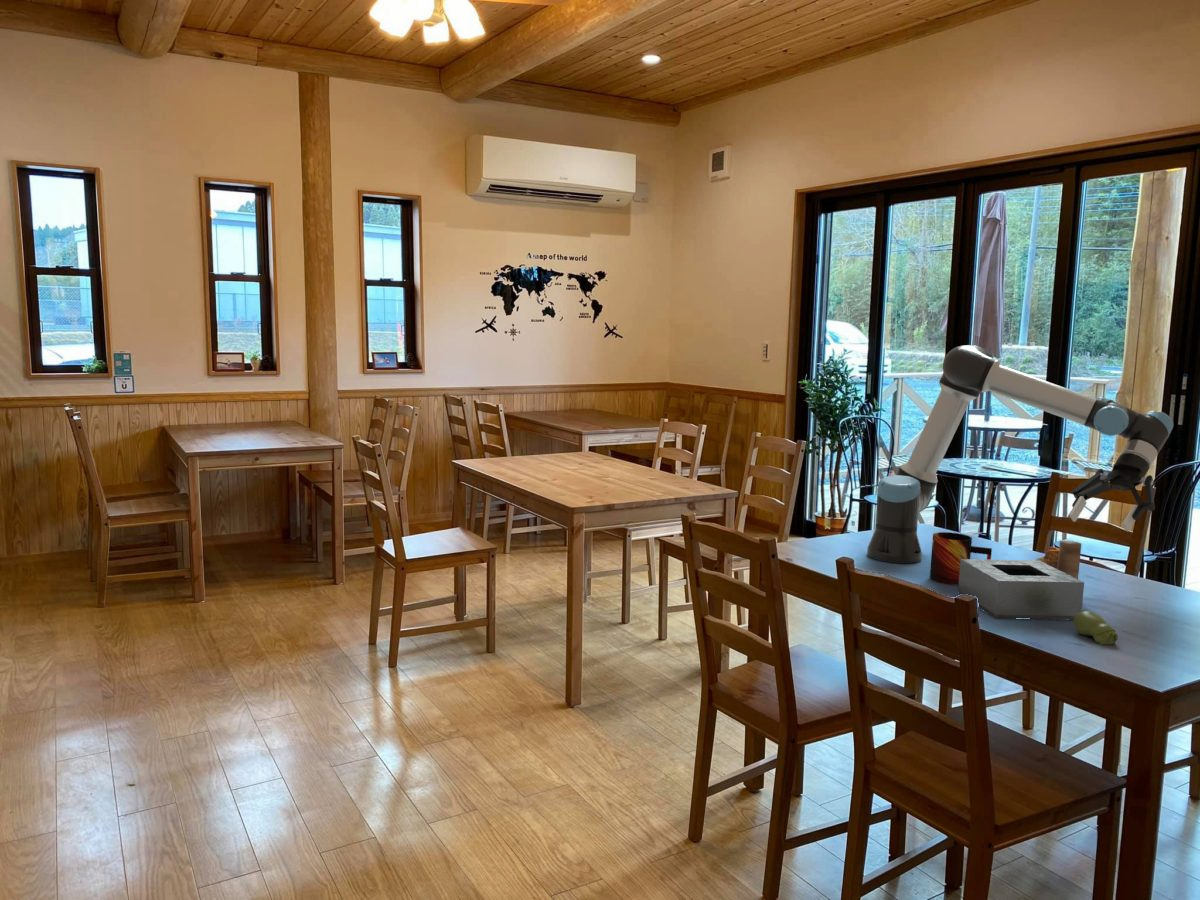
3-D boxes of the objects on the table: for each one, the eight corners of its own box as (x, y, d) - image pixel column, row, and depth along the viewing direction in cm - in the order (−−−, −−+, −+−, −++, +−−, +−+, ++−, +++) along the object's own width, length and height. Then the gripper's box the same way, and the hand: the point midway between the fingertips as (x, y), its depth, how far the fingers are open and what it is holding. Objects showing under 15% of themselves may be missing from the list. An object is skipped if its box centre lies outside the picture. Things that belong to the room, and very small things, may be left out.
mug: (990, 586, 233) (994, 541, 231) (937, 584, 233) (941, 540, 231) (974, 576, 242) (978, 533, 241) (924, 575, 242) (927, 531, 241)
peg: (1050, 594, 227) (1055, 540, 225) (1069, 594, 227) (1074, 540, 225) (1061, 599, 222) (1066, 544, 220) (1080, 600, 222) (1085, 545, 220)
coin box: (957, 593, 225) (960, 558, 223) (1035, 595, 225) (1039, 560, 224) (995, 618, 205) (998, 580, 204) (1080, 620, 205) (1084, 582, 204)
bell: (1065, 581, 240) (1068, 555, 239) (1020, 572, 249) (1023, 546, 248) (1082, 574, 248) (1085, 549, 247) (1038, 566, 257) (1040, 541, 256)
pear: (1092, 606, 197) (1127, 628, 188) (1086, 628, 199) (1121, 650, 190) (1071, 607, 196) (1105, 629, 187) (1065, 629, 197) (1099, 652, 188)
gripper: (1190, 477, 225) (1153, 541, 219) (1092, 464, 246) (1056, 523, 240) (1181, 457, 221) (1144, 522, 215) (1083, 446, 242) (1046, 505, 236)
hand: (1097, 523), depth 228 cm, fingers open, 13 cm apart
